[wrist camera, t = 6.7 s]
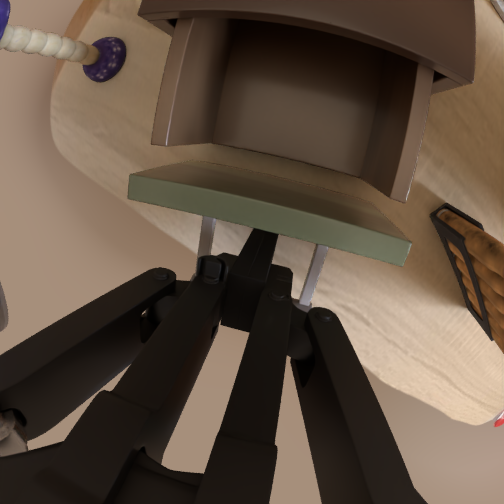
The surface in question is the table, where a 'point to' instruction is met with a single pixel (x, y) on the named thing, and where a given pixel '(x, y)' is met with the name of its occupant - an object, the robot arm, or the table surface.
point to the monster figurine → (499, 7)
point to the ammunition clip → (475, 267)
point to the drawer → (288, 133)
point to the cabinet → (356, 26)
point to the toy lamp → (63, 47)
